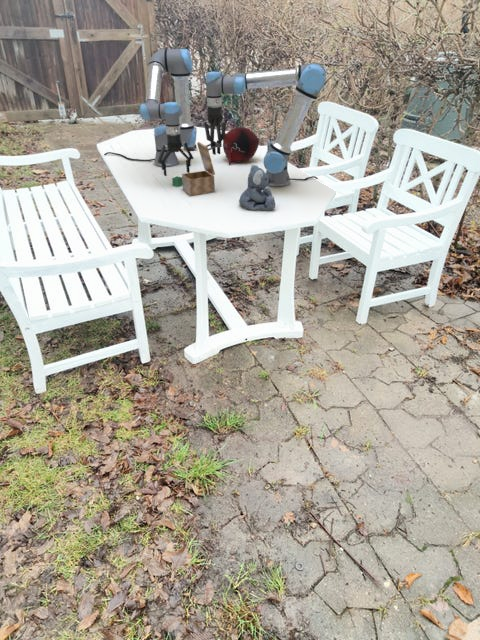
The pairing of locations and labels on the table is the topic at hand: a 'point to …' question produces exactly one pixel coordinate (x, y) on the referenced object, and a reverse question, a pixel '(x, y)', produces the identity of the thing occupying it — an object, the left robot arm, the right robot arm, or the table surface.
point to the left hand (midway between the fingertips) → (176, 173)
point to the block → (177, 181)
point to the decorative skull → (240, 144)
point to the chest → (198, 183)
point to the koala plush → (257, 191)
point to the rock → (192, 147)
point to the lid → (207, 156)
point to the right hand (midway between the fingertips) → (216, 153)
